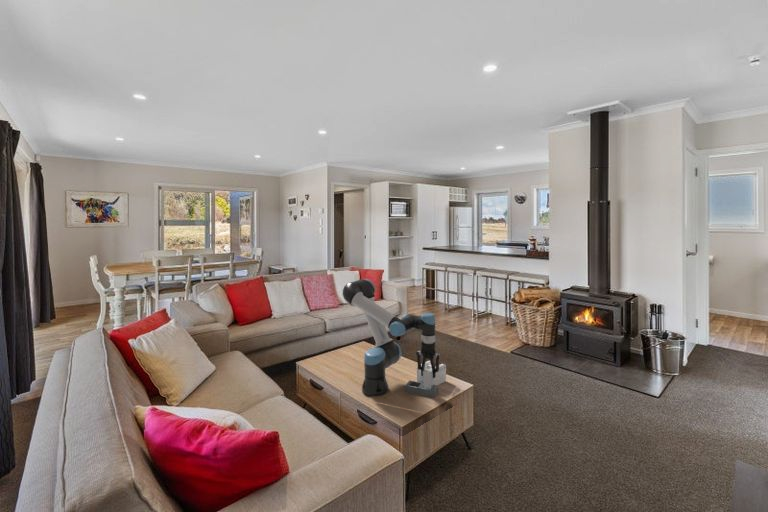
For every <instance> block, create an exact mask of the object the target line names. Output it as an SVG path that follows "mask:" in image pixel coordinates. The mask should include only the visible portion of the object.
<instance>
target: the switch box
mask: <svg viewBox="0 0 768 512" xmlns="http://www.w3.org/2000/svg"><path fill="white" fill-rule="evenodd" d="M404 390H405V391H404V392H406V393H411V394H415V395H422V396H426V397H431V398H435V397H436V396H437V394H438V393H439V385H433V389H432V390H430V389H425V388H424V383H421V382H417V381H415V380H408V381H407V383H406V384H405V385H404Z"/></svg>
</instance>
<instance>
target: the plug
mask: <svg viewBox="0 0 768 512" xmlns="http://www.w3.org/2000/svg"><path fill="white" fill-rule="evenodd" d="M431 372H432V370H431V369H425V371H424V388H425V389H430V390H432V389H433V384H431Z"/></svg>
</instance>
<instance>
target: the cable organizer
mask: <svg viewBox="0 0 768 512" xmlns="http://www.w3.org/2000/svg"><path fill="white" fill-rule="evenodd" d="M421 367H422V363H421ZM425 369H431V370H432V367H431V362H430V359H429V360H426V363H425ZM425 369H424V370H425ZM435 369H436V366H435ZM445 381H447V365H446V363H441V364H440V363H439V371H438V372H436V377H435V378H434V383H433V385H437V386H439V385H441V384H443V383H445ZM416 382H421V383H423V376H421V370H420V369H418V366H417V367H416Z"/></svg>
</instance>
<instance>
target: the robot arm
mask: <svg viewBox="0 0 768 512" xmlns="http://www.w3.org/2000/svg"><path fill="white" fill-rule="evenodd" d="M375 294H376V285H375V284H374V282H373V281H372V280H370V279H367V278H365V279H363V278H362V279H357V280H355V281H350V282H348V283H346V284H345V285H344V287H343V289H342V297H343V299H344V301H345V302H347V304H348V305H350V306H351V307H353V308H355V307H356V308H357V309H359V310H361V311H362V312H363V314H364V317H365V319H366V322H367V324H368V327H369V329H370V331H371V334H372V337H373V338H374V342H375V346H374V347H371V348H369V349H367V350H366V351H365V352H364V358H363V361H364V362H363V363H364V379H363V382H362V387H361V392H362V393H363V395H364V396H367V397H381V396H384V395H385V394H387V393H388V392H389V390H390V389H389V387H390V386H389V384H388V381H387V377H386V369H388V368H389V367H391V366H393V365H395V364H396V363H397V362H398V361H400V359H401V357H402V349H401V346H400V345H399V344H398V343H397V342H395V341H394V339H393V338H391V337H390V336H389V334H388V331H387V329H386V328H388V330H389V333H390V335H392V336H393V337H400V336H403V335H405V334H406V333H408V332H410V331H412V330H418V331H421V336H420V337H421V338H420V339H421V349H420V350H417V351H416V353H415V355H416V356H417V367H418V369H420V370H421V376H423V383H424V371H425V370H424V369H425V363H426V362H427V359H429V360H430V362H431V367H432V372H431V384H433V383H434V378H435V377H436V372H438V371H439V365H440V357H441V353H438V352H437V351H436V316H435V314H433V313H431V312H424V313H421V315H415V314H411V313H404V314H403V315H402V316H401V319H400V318H399V317H398V316H396V315H394V314H393V313H391V312H390V311H388V310H386V309H385V308H384V307H382V306H380V305H379V304H377V303H376V302H375V299H376V295H375ZM422 356H423V357H422ZM434 356H435V360H434ZM421 364H422V367H421ZM435 367H436V369H435Z"/></svg>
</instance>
